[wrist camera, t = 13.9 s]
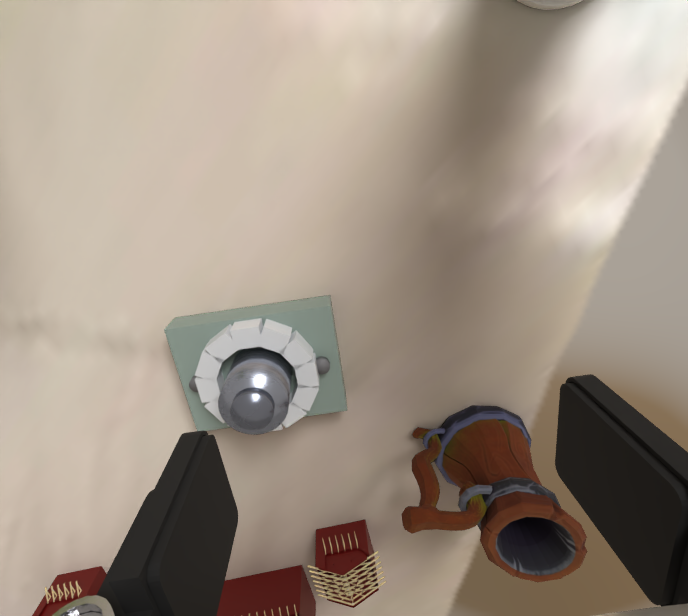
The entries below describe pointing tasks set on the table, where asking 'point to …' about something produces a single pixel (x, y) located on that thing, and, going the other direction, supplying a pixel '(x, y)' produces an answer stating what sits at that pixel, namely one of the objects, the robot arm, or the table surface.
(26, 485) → the table surface
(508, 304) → the table surface
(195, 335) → the block
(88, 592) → the toy houses
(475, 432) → the mug
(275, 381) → the hub
